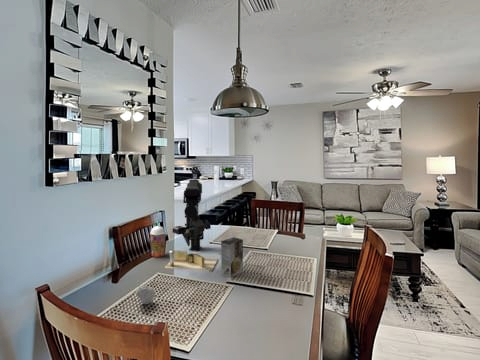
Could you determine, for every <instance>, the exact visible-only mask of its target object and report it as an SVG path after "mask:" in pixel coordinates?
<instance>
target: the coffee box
mask: <svg viewBox="0 0 480 360" xmlns="http://www.w3.org/2000/svg"><path fill="white" fill-rule="evenodd" d="M220 243H221V248H220V249H221V250H220V251H221V252H220V257H221V259H220V261H221V262H220V263H221V264H220V265H221V266H220V269H221V271H220V272H221V275H222V276H226V277H228V278H233V277H235V276H237V275H239V274H241V273H243V271H244V253H243V252H244V240H243V239H241V238H238V237H234V236H233V237H229V238H227V239H224V240H221V242H220Z"/></svg>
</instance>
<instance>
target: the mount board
mask: <svg viewBox="0 0 480 360" xmlns="http://www.w3.org/2000/svg"><path fill="white" fill-rule="evenodd" d="M218 261H219V258H208V257H207V258H205V257H204V267H201V266H199V265H197V264H195V263H188V262H187V261H174V266H172V267H171V266H170V261H169V262H168V263H167V264H166V265H165V266H164V269H176V270H177V269H179V270H180V269H181V270H183V269H184V270H199V271H200V270H201V271H203V270H204V271H209V272H213V270H214V268H215V266H216V265H217V263H218Z"/></svg>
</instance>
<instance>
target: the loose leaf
mask: <svg viewBox="0 0 480 360" xmlns="http://www.w3.org/2000/svg"><path fill="white" fill-rule="evenodd" d="M193 254H194V263H195V264H197V265H199V266H201V267H204V258H205V257H204V256H202V255H200V254H198V253H193Z"/></svg>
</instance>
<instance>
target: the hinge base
mask: <svg viewBox="0 0 480 360" xmlns="http://www.w3.org/2000/svg"><path fill="white" fill-rule="evenodd" d="M194 254H195V253H189V254H188V251H186V250H185V251H183V250H182V251H180V250H175V252H174V261H187V262H188V263H194Z"/></svg>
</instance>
